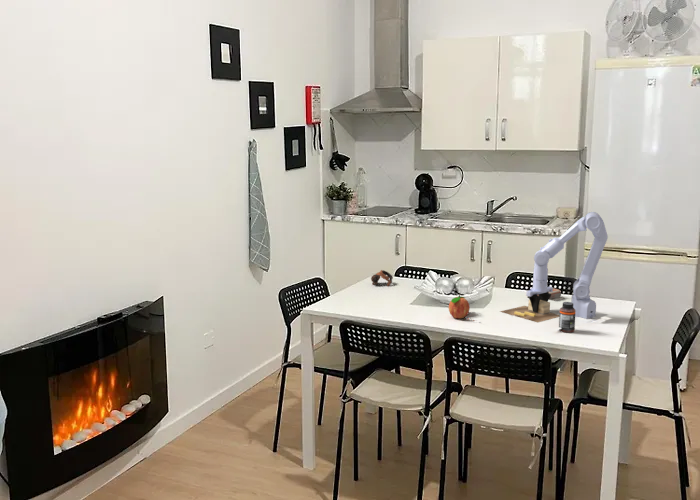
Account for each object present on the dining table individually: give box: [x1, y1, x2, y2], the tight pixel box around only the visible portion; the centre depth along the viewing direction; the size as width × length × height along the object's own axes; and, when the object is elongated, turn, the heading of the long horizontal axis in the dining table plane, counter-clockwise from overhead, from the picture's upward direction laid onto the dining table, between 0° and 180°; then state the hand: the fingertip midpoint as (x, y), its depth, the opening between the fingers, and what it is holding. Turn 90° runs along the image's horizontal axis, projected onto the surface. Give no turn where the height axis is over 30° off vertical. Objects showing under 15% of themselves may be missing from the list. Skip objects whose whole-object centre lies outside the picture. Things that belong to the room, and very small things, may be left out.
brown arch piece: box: [370, 269, 394, 287], centre depth 347 cm, size 12×10×8 cm
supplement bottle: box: [558, 301, 576, 334], centre depth 271 cm, size 6×6×11 cm
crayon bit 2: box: [524, 312, 536, 316], centre depth 289 cm, size 5×1×1 cm, turn 36°
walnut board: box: [499, 305, 560, 323], centre depth 291 cm, size 20×16×2 cm
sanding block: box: [527, 299, 551, 315], centre depth 293 cm, size 8×4×5 cm, turn 36°
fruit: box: [448, 293, 470, 319], centre depth 289 cm, size 9×10×10 cm
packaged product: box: [526, 287, 566, 302], centre depth 319 cm, size 18×5×10 cm
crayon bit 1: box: [514, 311, 526, 316], centre depth 289 cm, size 5×1×1 cm, turn 36°
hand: (538, 310), depth 293 cm, fingers open, 4 cm apart
